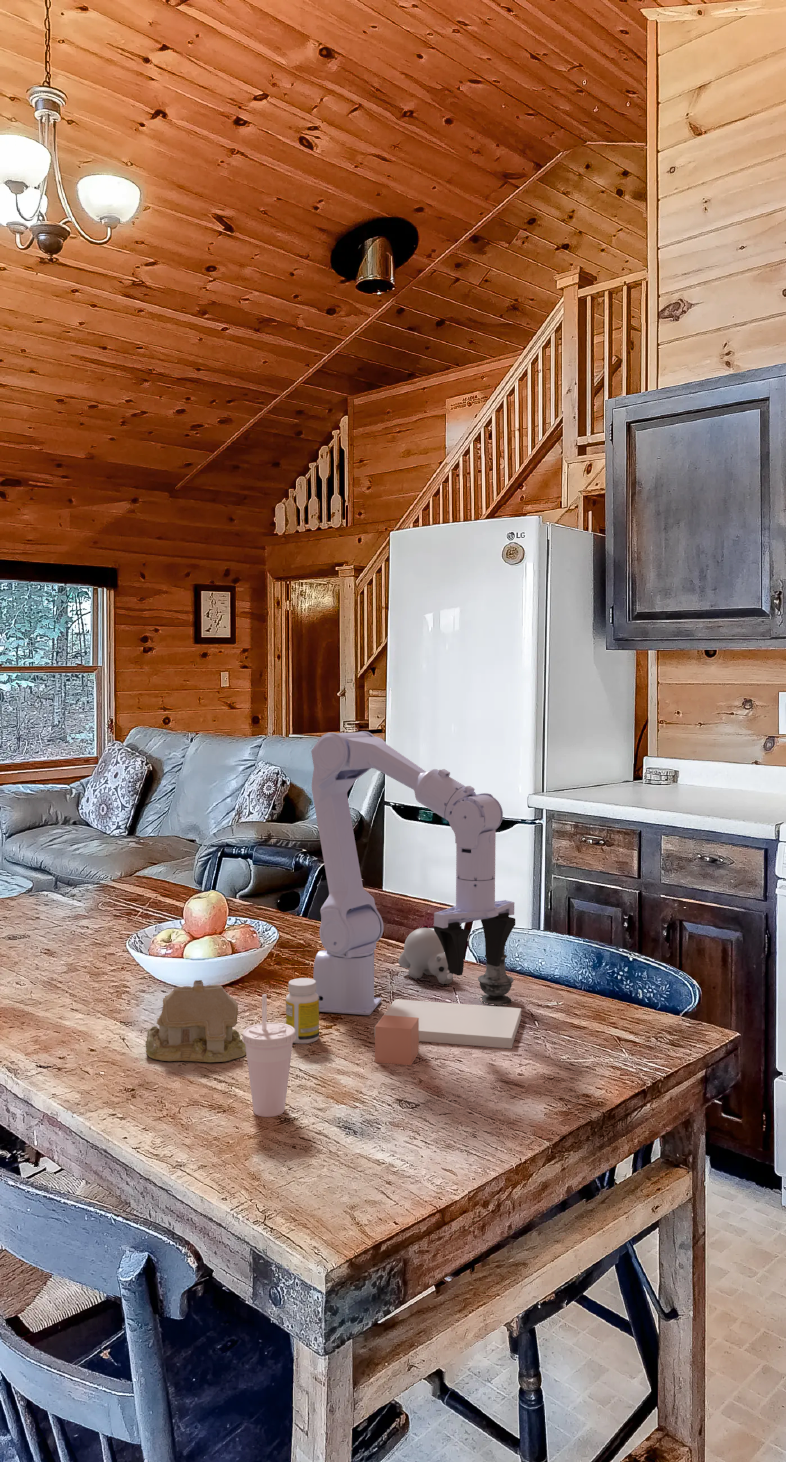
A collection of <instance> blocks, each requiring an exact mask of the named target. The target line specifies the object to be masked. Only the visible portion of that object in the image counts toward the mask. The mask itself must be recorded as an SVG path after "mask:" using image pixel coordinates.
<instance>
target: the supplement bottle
mask: <svg viewBox="0 0 786 1462" xmlns="http://www.w3.org/2000/svg"><path fill="white" fill-rule="evenodd" d="M315 992H316V981H315V980H314V979H313V978H309V977H299V978H294V979H290V980H289V981H288V994H287V995H286V997H285V1024H288V1025H290V1026H292V1027H293V1028H294V1029H295V1036H296V1039H295V1041H293V1044H300V1045H301V1044H302V1045H303V1044H310V1043H315V1042H316V1041H318V1040H319V1038H320V1012H319V996H318V995H317V993H315Z"/></svg>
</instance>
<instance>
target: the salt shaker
mask: <svg viewBox="0 0 786 1462" xmlns="http://www.w3.org/2000/svg"><path fill="white" fill-rule="evenodd" d="M505 948H506V946H505V947H504V950H503V954H502V958H501V962H500V965H499V966H498V967H495V966H492V965H489V964H487V963H486V968H485V973H484V974H481V975H480V976H478V977H477V981H478V982H479V987H480V990H481V991H482V992H483V993H484V995H482V996H481V997H480V998H482V1000H483V1001H482V1002H485V1003H488V1004H494V1005H493V1006H496V1005H499V1006H504V1005H503V1004H507V1005H510V1004H512V1002H511V1001H512V998H511V997H509V996H508V995H507V994H508V993H509V992H510V990H511V989H512V986H513V985H512V984H513V982H514V981H515V980H514V978H513V977H511V976H509V975H508V974H507V972H506V959H507V957H508V955H506V954H505V951H506V950H505ZM484 958H486V954H484ZM509 1003H510V1004H509Z"/></svg>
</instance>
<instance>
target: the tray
mask: <svg viewBox="0 0 786 1462" xmlns="http://www.w3.org/2000/svg"><path fill="white" fill-rule="evenodd" d="M384 1015H389V1016H402V1017H415V1018H419V1042H426V1043H439V1044H452V1045H463V1046H464V1045H465V1046H475V1047H476V1046H477V1047H489V1048H499V1049H501V1048H502V1049H512V1047H513V1045H514V1042H515V1039H516V1035H517V1033H518V1029H519V1026H520V1023H521V1019H522V1008H521V1007H510V1006H509V1007H507V1006H496V1005H481V1004H479V1005H478V1004H467V1003H456V1002H455V1003H452V1002H441V1001H440V1002H439V1001H438V1002H437V1001H423V1000H412V999H411V1000H410V999H398V998H396V999H395V1000H394V1001H393V1002H392V1003H391V1005H390V1006H389V1007H388V1008H387V1010H386V1011H385V1012H384V1014H383V1015H382V1017H383V1016H384ZM382 1017H381V1018H382ZM381 1018H380V1019H379V1020H378V1022H379V1021H380V1020H381ZM378 1022H377V1023H376V1024H375V1026H376V1025H377V1024H378ZM375 1026H374V1029H373V1031H374V1032H373V1033H374V1035H373V1036H374V1037H373V1038H375Z"/></svg>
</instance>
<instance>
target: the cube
mask: <svg viewBox="0 0 786 1462" xmlns="http://www.w3.org/2000/svg"><path fill="white" fill-rule="evenodd" d="M383 1015H384V1014H383ZM383 1015H382V1016H383ZM380 1019H381V1020H380ZM380 1019H379V1020H380V1021H379V1020H378V1022H377V1023H378V1024H377V1023H376V1024H377V1025H376V1024H375V1026H374V1027H375V1037H374V1039H375V1041H374V1044H375V1045H374V1046H375V1047H374V1051H375V1052H374V1055H375V1056H374V1062H375V1063H379V1064H392V1065H393V1064H394V1065H403V1066H412V1064H413V1063H414V1061H415V1059H416V1057H417V1056H418V1054H419V1047H420V1046H419V1042H420V1041H419V1018H415V1017H402V1016H389V1015H384V1016H383V1017H381V1018H380Z"/></svg>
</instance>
